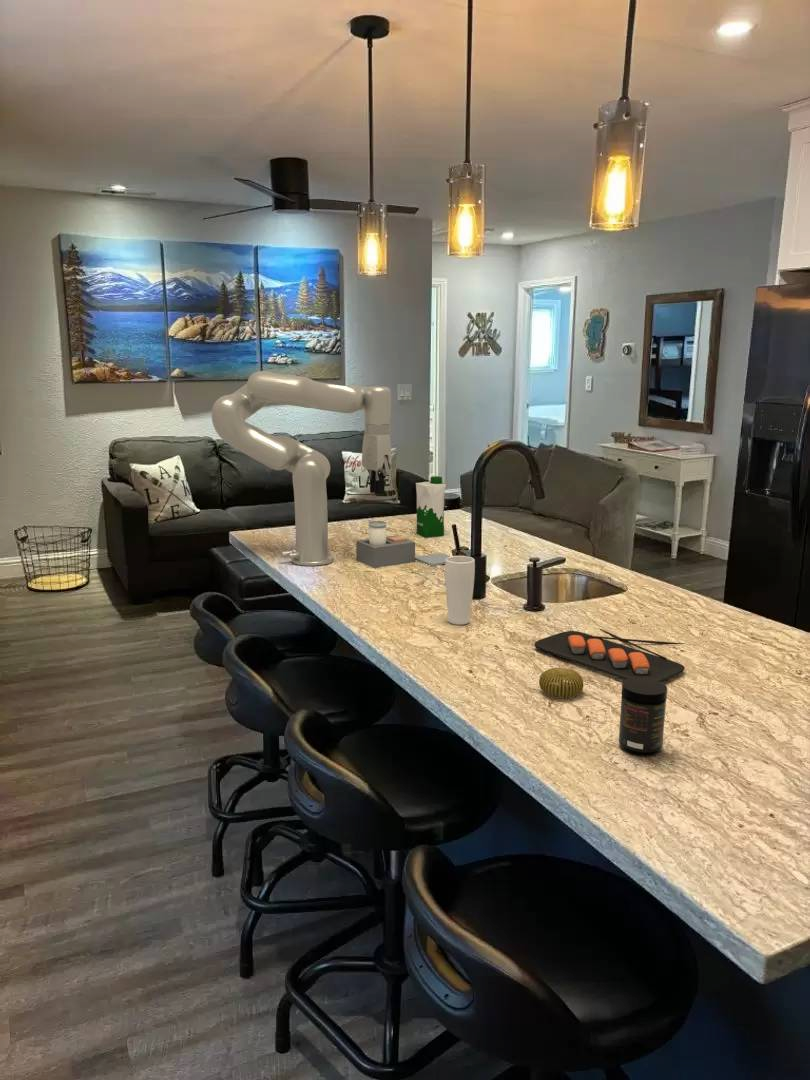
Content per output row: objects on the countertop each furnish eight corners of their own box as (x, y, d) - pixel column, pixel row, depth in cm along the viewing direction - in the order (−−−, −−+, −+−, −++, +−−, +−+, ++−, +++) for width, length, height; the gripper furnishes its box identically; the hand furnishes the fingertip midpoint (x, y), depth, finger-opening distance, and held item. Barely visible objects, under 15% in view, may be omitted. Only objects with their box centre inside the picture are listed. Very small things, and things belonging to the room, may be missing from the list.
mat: (431, 566, 235) (431, 564, 235) (413, 559, 243) (413, 557, 243) (459, 562, 240) (459, 559, 240) (440, 555, 248) (440, 552, 248)
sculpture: (530, 672, 146) (556, 661, 152) (529, 693, 147) (555, 681, 153) (567, 684, 141) (592, 672, 146) (566, 706, 142) (591, 693, 147)
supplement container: (665, 742, 128) (670, 681, 126) (659, 761, 122) (664, 698, 120) (622, 734, 131) (626, 674, 129) (614, 752, 125) (618, 690, 123)
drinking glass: (471, 627, 182) (473, 563, 179) (442, 625, 184) (443, 562, 180) (475, 618, 189) (476, 556, 185) (446, 616, 190) (447, 554, 187)
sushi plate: (527, 651, 169) (528, 634, 168) (613, 622, 188) (614, 606, 187) (647, 695, 148) (649, 675, 147) (730, 657, 167) (732, 639, 166)
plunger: (394, 556, 241) (394, 540, 239) (388, 553, 244) (387, 537, 243) (406, 554, 243) (406, 538, 242) (399, 551, 246) (399, 536, 245)
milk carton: (447, 536, 274) (448, 478, 270) (423, 538, 271) (424, 480, 266) (435, 531, 282) (436, 475, 278) (412, 533, 279) (412, 476, 274)
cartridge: (374, 565, 237) (374, 525, 234) (365, 561, 241) (365, 522, 238) (389, 562, 239) (389, 523, 237) (380, 559, 244) (380, 520, 241)
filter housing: (374, 567, 233) (374, 547, 232) (356, 559, 243) (356, 540, 241) (415, 561, 241) (415, 542, 239) (396, 554, 250) (396, 535, 248)
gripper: (353, 428, 236) (353, 490, 240) (379, 432, 223) (379, 498, 227) (375, 427, 240) (375, 488, 244) (403, 431, 227) (402, 496, 231)
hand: (377, 492), depth 236 cm, fingers closed
